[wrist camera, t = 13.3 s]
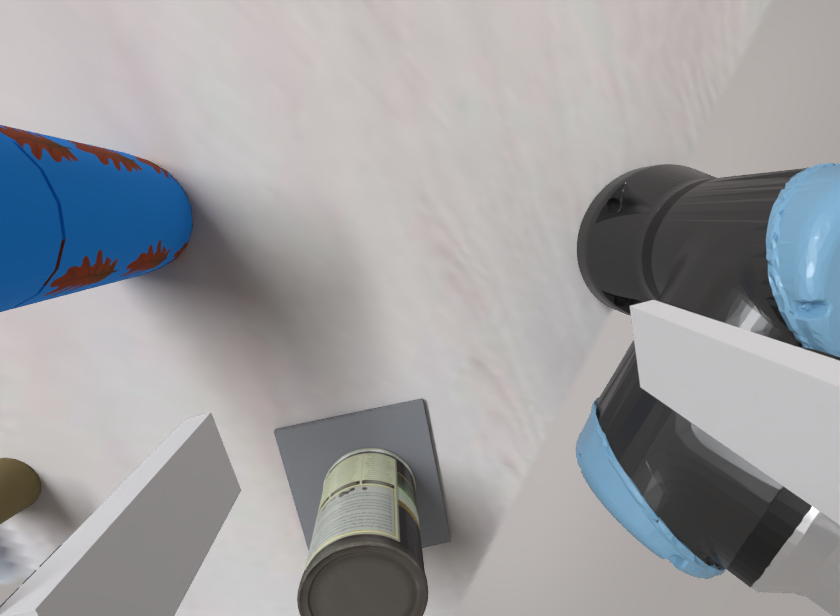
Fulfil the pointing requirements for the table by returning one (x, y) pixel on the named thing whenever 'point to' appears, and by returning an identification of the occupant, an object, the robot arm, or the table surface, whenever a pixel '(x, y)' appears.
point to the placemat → (376, 428)
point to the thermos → (81, 217)
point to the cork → (16, 487)
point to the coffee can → (366, 541)
